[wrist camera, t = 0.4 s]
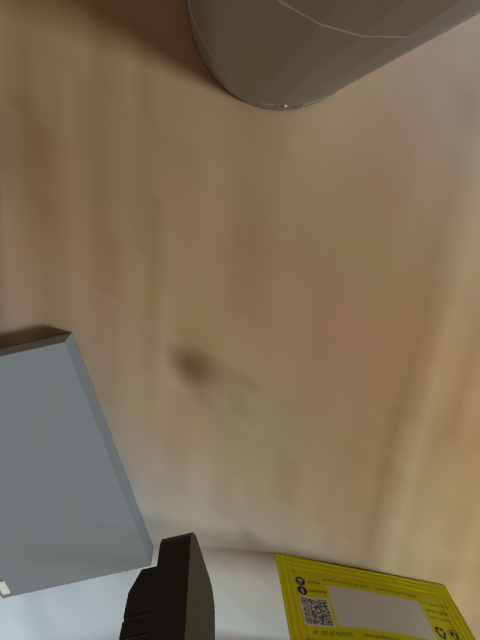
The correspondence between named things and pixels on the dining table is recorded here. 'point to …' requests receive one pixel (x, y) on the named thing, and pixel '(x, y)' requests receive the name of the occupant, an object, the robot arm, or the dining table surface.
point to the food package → (364, 604)
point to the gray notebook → (60, 475)
